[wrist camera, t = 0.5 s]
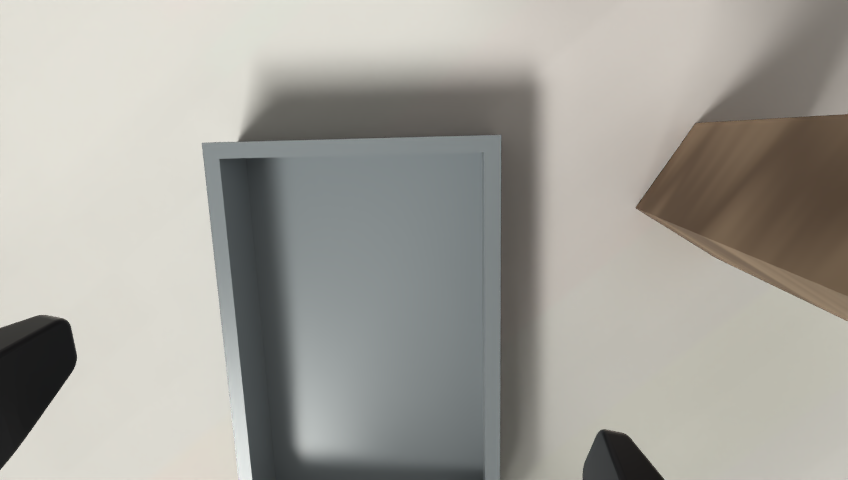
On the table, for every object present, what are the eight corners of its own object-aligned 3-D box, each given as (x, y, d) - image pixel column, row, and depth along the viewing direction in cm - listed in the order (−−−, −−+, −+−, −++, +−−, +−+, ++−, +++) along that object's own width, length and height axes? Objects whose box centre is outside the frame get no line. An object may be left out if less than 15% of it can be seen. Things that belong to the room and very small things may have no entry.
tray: (495, 499, 24) (499, 549, 21) (270, 493, 25) (244, 539, 22) (495, 135, 21) (501, 134, 18) (236, 142, 22) (202, 142, 19)
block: (715, 257, 21) (1089, 437, 9) (635, 207, 21) (895, 315, 8) (778, 175, 21) (1296, 239, 8) (695, 122, 20) (1083, 100, 8)
